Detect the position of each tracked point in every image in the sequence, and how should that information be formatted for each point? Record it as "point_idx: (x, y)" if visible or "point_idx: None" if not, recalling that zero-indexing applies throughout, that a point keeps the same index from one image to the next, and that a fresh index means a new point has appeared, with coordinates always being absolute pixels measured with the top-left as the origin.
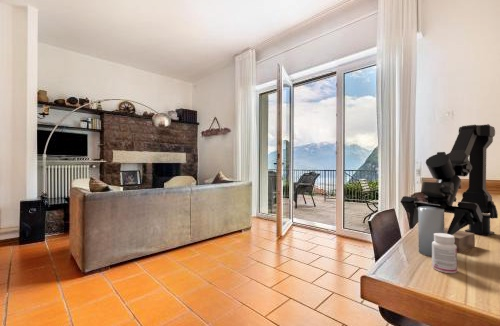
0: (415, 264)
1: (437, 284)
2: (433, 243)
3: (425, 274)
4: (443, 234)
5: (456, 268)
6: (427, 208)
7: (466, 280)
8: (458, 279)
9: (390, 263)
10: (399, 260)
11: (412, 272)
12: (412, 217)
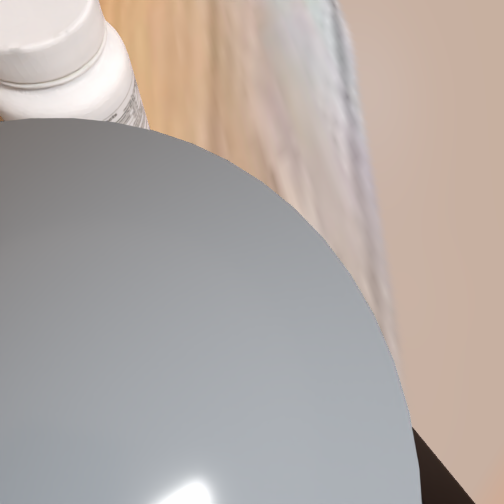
0: (227, 144)
1: (126, 6)
2: (115, 30)
3: (172, 62)
4: (17, 5)
5: None
6: (111, 338)
7: None
8: None
9: (316, 88)
10: (299, 148)
11: (218, 52)
12: (429, 500)
